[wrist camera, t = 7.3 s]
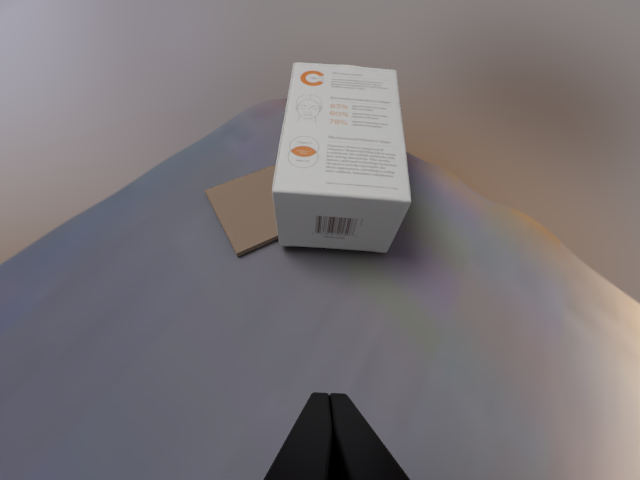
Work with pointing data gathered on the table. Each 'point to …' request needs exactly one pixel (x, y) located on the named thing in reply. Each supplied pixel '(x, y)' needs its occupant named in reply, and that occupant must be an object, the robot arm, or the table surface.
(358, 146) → the small box
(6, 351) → the table surface
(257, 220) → the cork mat
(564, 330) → the table surface
